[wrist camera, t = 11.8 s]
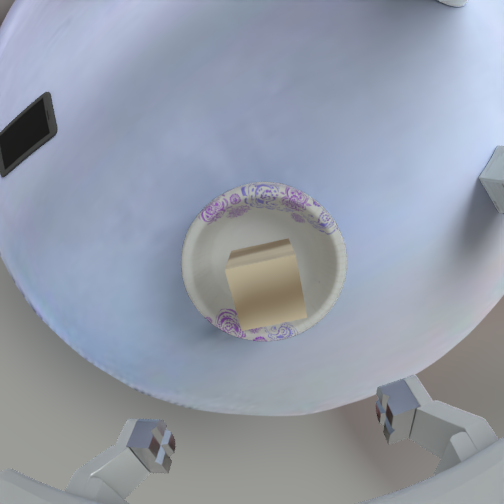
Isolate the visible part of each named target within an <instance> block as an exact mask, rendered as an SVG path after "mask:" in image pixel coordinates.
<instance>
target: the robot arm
mask: <svg viewBox="0 0 504 504" xmlns="http://www.w3.org/2000/svg"><path fill="white" fill-rule="evenodd" d="M438 1H440V2H442V3H444V4H447V5H450V6H455V7H461V6H464V5H465V4H466V3H467V1H468V0H438ZM376 394H377V396H378V400H377V402H376V414H377V418H378V421H379V423H380V424H381V425H383V426H384V431H383V433H384V435H385V438H386V440H387V443H388V444H393V443H395V442H398V441H402V440H405V439H408V438H409V439H410V440H412V441H413V442H415V443H417V444H418V445H420V446H421V447H423V448H424V449H426V450H428V451H429V452H431V453H432V454H434V455H436V456H437V457H439V458H441V460H440V462H439V464H438V466H437V468H436V470H435V472H434V473H435V476H432V477H430V478H428V479H426V480H423V481H421V482H418V483H416V484H413V485H411V486H408V487H406V488H403V489H400V490H398V491H395V492H392V493H389V494H386V495H383V496H380V497H377V498H373V499H370V500H367V501H363V502H360V503H356V504H504V437H503V438H501V439H498V437H497V436H496V434H495V433H494V431H493V430H492V428H491V427H490V426H489V424H488V423H487V421H486V420H485V419H484V418H482V417H479V416H477V415H474V414H472V413H469V412H466V411H463V410H461V409H458V408H456V407H453V406H451V405H448V404H445V403H443V402H440V401H438V400H435V401H433V400H432V399H431V397H430V395H429V394H428V392H427V391H426V389H425V388H424V387H423V385H422V383H421V382H420V380H419V379H418V378H417V376H416V375H412V376H409V377H406V378H403V379H400V380H397V381H394V382H392V383H389V384H386V385H382V386H379V387H378V388H377V393H376ZM166 427H167V425H166V423H165V422H164V420H154V419H153V420H152V419H131V418H130V419H128V420H127V421H126V423H125V425H124V427H123V429H122V431H121V434H120V436H119V438H118V440H117V442H116V444H115V446H111V447H109V448H108V449H106V450H105V451H104V452H102V453H101V454H99V455H98V456H96V457H95V458H94V459H92V460H91V461H89V462H88V463H86V464H85V465H83V466H82V467H80V468H79V469H77V470H76V471H75V472H74V474H73V476H72V478H71V480H70V482H69V484H68V486H67V488H66V490H65V491H62V490H59V489H56V488H54V487H51V486H49V485H46V484H44V483H42V482H39V481H37V480H35V479H33V478H30V477H28V476H26V475H24V474H22V473H20V472H18V471H16V470H13V469H6V470H3V471H1V472H0V504H129V503H128V502H127V501H125V500H124V499H125V498H126V497H127V496H128V495H129V494H130V493H131V492H132V491H133V490H134V489H135V488H136V487H137V486H138V485H139V484H140V483H141V482H142V481H143V480H144V479H145V478H146V477H147V476H148V475H149V474H150V472H152V473H169V470H170V466H171V463H172V460H171V459H170V456H171V455H172V454H173V453H174V451H175V439H174V436H173V434H172V433H171V432H170V431H168V430H166Z"/></svg>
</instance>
